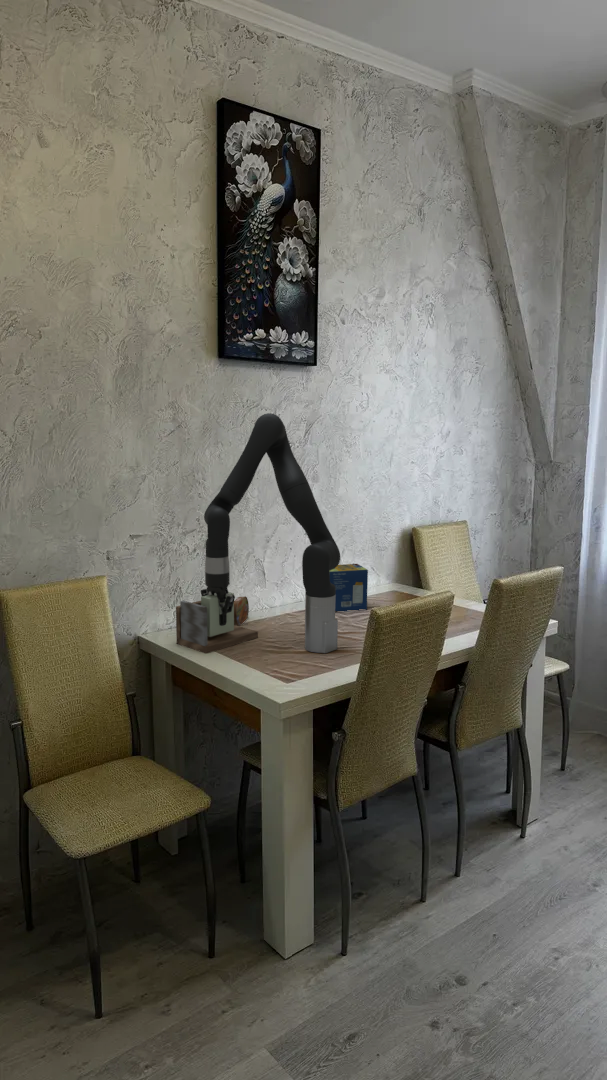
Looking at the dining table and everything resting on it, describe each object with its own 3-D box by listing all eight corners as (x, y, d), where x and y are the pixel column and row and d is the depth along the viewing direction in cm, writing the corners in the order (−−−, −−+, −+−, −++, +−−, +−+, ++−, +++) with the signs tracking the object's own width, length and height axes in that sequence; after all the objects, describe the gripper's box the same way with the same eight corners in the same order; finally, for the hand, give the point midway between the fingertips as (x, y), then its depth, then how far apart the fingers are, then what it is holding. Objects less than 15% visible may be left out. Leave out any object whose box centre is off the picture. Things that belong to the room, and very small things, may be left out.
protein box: (319, 605, 282) (319, 565, 280) (357, 603, 287) (358, 563, 284) (328, 613, 273) (328, 571, 270) (367, 610, 277) (368, 569, 274)
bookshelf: (257, 637, 242) (257, 595, 240) (206, 653, 226) (205, 608, 224) (228, 628, 252) (227, 588, 249) (176, 643, 235) (175, 600, 233)
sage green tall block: (233, 630, 238) (233, 593, 236) (209, 636, 231) (209, 599, 229) (225, 627, 241) (225, 591, 239) (201, 634, 234) (201, 596, 231)
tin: (237, 629, 252) (237, 604, 250) (228, 628, 252) (228, 604, 251) (249, 617, 266) (249, 594, 265) (241, 616, 267) (241, 593, 266)
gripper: (241, 572, 231) (242, 625, 234) (211, 565, 240) (211, 617, 243) (223, 575, 225) (224, 630, 228) (193, 568, 234) (193, 621, 237)
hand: (217, 623), depth 235 cm, fingers closed on sage green tall block, 4 cm apart
